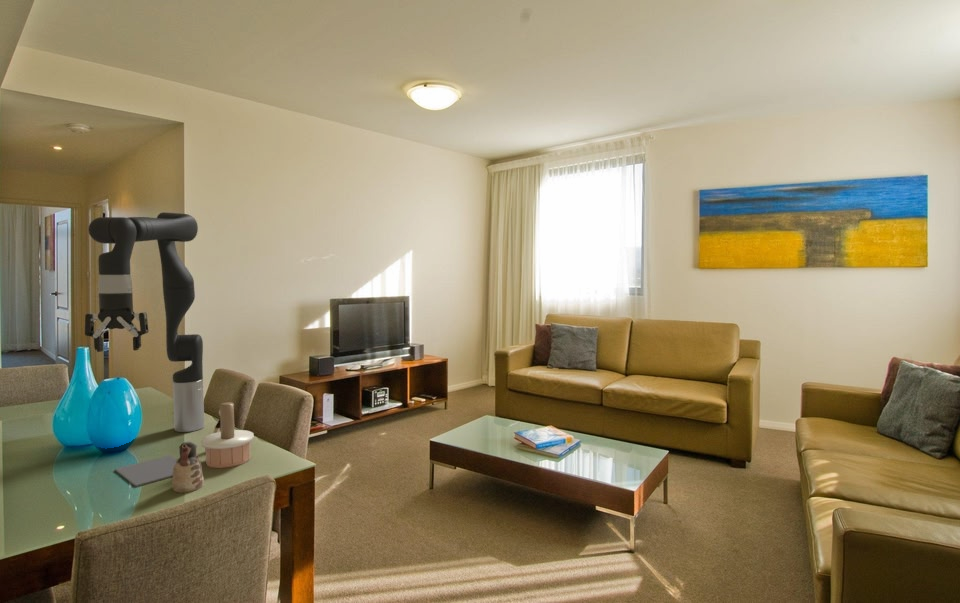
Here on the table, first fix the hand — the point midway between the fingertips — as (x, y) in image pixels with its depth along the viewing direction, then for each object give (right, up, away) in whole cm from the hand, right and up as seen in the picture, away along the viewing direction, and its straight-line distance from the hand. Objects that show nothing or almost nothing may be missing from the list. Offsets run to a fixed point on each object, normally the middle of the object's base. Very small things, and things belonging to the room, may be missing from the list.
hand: (118, 350), depth 142 cm
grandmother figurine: (+18, -33, +24) cm, 44 cm away
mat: (+8, -34, +4) cm, 35 cm away
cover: (+25, -28, +11) cm, 39 cm away
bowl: (+25, -34, +12) cm, 43 cm away
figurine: (+23, -35, -7) cm, 42 cm away
